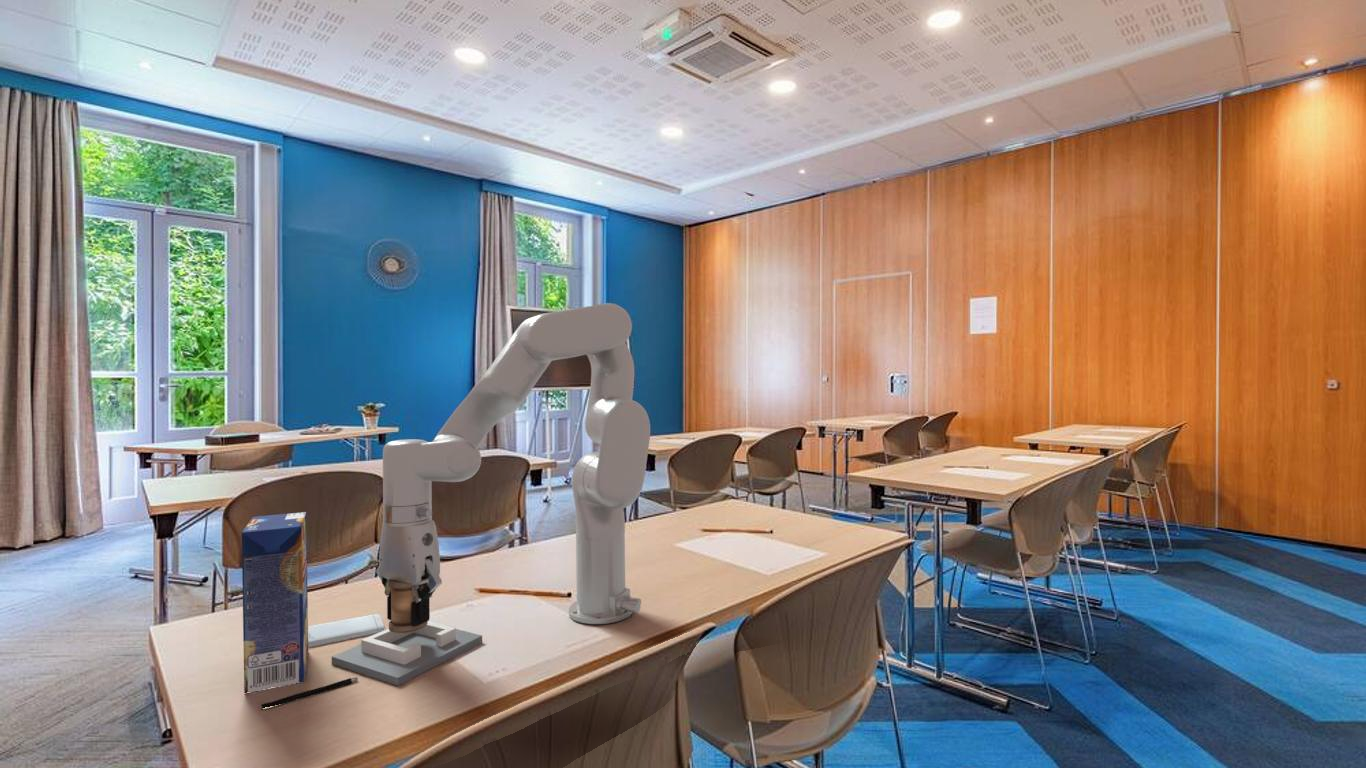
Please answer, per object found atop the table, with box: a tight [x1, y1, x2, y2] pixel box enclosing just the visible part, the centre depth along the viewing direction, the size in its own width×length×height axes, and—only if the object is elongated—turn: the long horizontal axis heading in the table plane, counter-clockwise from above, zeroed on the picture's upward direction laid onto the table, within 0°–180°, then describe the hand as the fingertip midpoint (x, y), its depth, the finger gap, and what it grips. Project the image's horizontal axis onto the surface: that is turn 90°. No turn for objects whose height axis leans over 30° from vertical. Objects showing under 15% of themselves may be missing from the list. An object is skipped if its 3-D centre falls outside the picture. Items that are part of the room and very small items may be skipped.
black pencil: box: [261, 676, 359, 709], centre depth 91 cm, size 12×1×1 cm, turn 131°
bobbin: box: [388, 577, 428, 633], centre depth 104 cm, size 6×6×8 cm
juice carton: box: [241, 511, 309, 693], centre depth 97 cm, size 12×8×24 cm, turn 28°
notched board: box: [331, 620, 483, 686], centre depth 104 cm, size 16×17×3 cm
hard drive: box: [308, 613, 386, 648], centre depth 113 cm, size 2×8×12 cm
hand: (408, 619), depth 104 cm, fingers closed on bobbin, 5 cm apart
